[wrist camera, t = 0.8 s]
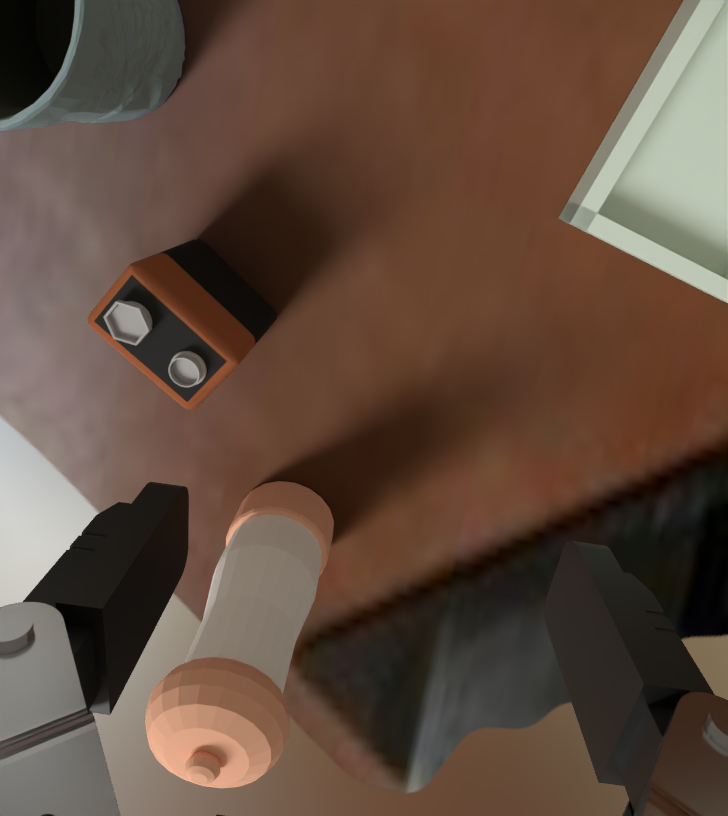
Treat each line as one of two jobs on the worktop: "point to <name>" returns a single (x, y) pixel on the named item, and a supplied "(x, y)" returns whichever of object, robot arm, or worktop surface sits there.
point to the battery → (182, 320)
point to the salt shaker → (244, 643)
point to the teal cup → (87, 60)
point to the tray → (669, 158)
